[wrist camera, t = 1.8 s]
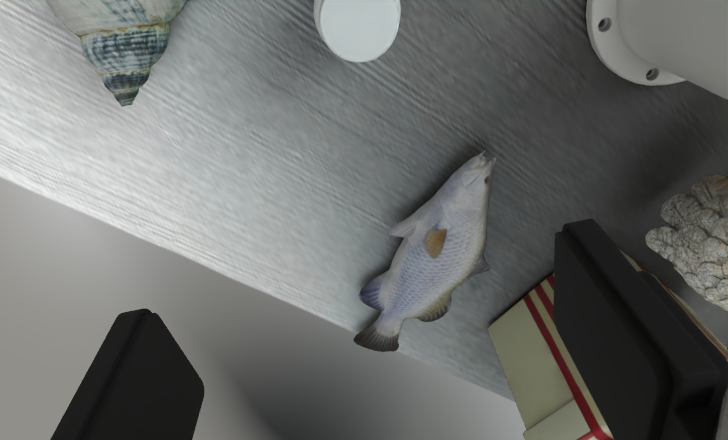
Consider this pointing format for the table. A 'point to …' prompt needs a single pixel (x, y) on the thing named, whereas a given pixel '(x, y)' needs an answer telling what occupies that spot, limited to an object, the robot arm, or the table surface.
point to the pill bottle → (357, 26)
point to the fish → (432, 255)
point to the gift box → (554, 368)
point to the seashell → (120, 37)
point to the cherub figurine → (697, 237)
